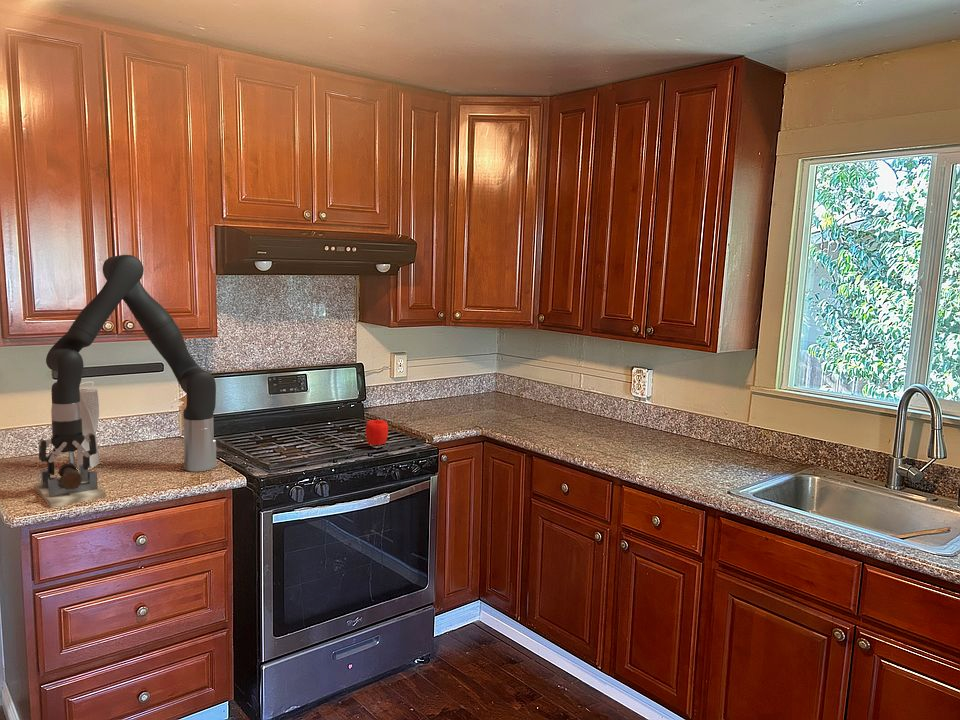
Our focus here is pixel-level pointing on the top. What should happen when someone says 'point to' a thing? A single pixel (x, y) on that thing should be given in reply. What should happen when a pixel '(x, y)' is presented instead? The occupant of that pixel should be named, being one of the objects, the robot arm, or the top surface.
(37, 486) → the collar board
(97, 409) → the skyscraper
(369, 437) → the apple
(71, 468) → the bolt
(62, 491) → the grey notched cradle
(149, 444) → the top surface
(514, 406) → the top surface
